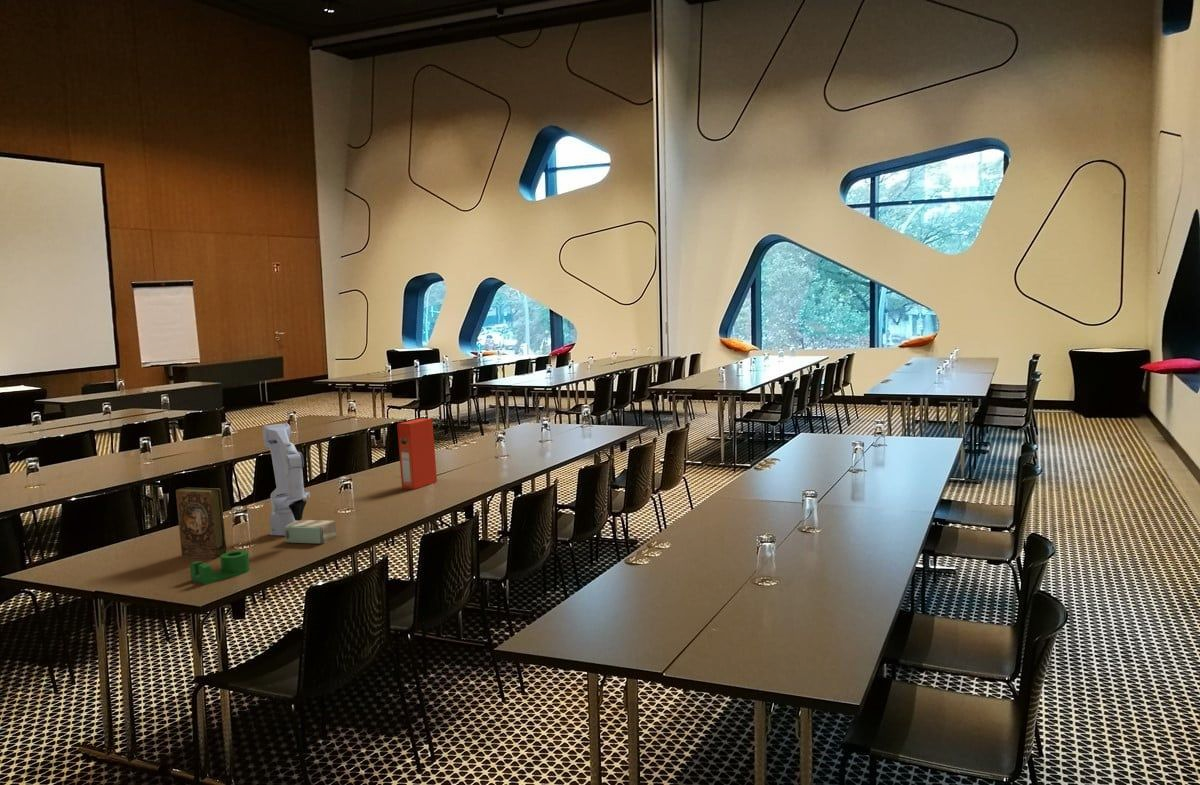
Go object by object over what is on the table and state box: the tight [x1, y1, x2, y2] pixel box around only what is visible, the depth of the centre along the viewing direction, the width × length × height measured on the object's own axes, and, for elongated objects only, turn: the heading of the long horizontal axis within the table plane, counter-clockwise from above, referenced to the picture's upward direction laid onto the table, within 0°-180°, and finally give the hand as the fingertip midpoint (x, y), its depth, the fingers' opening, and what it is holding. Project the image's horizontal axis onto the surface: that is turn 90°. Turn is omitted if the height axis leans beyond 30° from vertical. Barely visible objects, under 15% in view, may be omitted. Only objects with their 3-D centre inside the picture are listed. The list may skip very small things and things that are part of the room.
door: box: [285, 526, 323, 544], centre depth 338 cm, size 16×2×6 cm, turn 75°
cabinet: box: [287, 519, 337, 545], centre depth 343 cm, size 16×9×6 cm, turn 75°
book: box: [175, 487, 227, 559], centre depth 327 cm, size 16×6×25 cm, turn 74°
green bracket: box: [189, 549, 251, 586], centre depth 303 cm, size 18×9×6 cm, turn 142°
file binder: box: [396, 418, 438, 490], centre depth 434 cm, size 8×17×32 cm, turn 152°
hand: (298, 520), depth 338 cm, fingers closed
